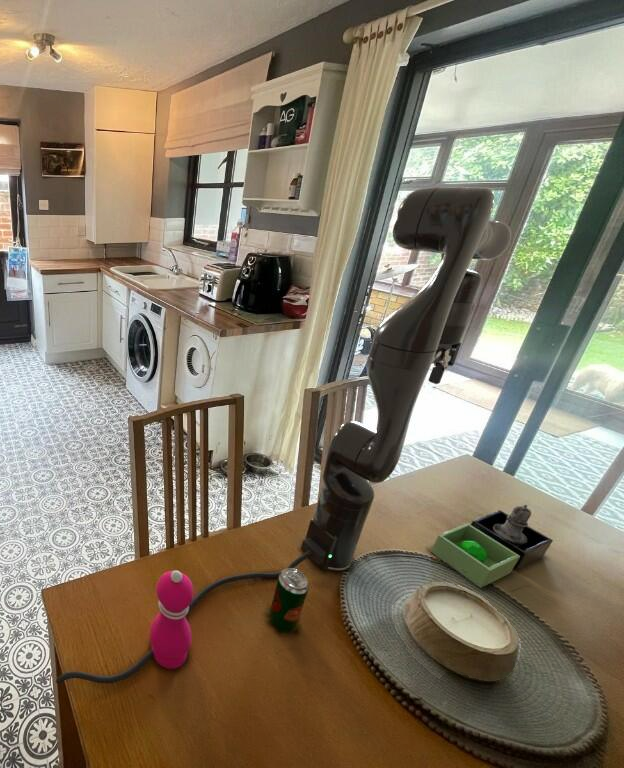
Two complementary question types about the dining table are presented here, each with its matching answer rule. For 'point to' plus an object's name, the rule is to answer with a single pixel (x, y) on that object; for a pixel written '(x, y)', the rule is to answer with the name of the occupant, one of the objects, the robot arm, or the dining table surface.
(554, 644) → the dining table surface
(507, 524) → the grey figurine
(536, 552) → the charcoal bin
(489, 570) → the green bin
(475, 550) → the polyhedron
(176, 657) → the pepper mill
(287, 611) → the soda can
